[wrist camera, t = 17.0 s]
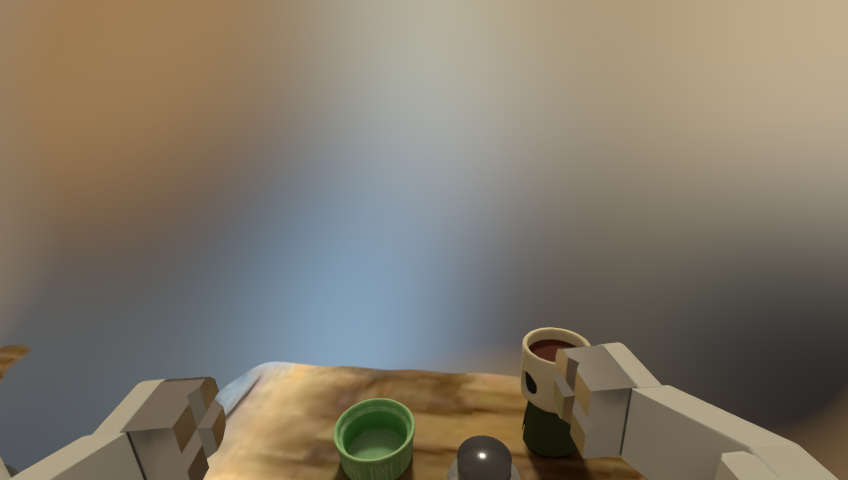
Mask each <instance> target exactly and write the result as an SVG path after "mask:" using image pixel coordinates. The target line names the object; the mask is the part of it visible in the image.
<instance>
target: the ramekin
mask: <svg viewBox="0 0 848 480" xmlns="http://www.w3.org/2000/svg"><path fill="white" fill-rule="evenodd" d="M414 432H415V421H414V418H413V415H412V413H411V412H410V410H409V409H408V408H407V407H405V406H404V405H403V404H401V403H399V402H397V401H395V400H391V399H385V398H375V399H369V400H365V401H362V402H360V403H357V404H355V405H354V406H352V407H350V408H349V409H348V410H346V411H345V412H344V413H343V414H342V415H341V416H340V418H339V419H338V421H337V423H336V425H335V428H334V433H333V438H334V443H335V446H336V449H337V451H338V452H339V456H340V460H341V464H342V468H343V470H344V472H345V474H346V475H347V476H348V477H349V478H350V479H351V480H395V479H397V478H398V477H399V476H401V475H402V474H403V473H404V472H405V470H406V469H407V467H408V465H409V463H410V461H411V457H412V451H413V437H414Z"/></svg>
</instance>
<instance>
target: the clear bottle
mask: <svg viewBox="0 0 848 480" xmlns="http://www.w3.org/2000/svg"><path fill="white" fill-rule="evenodd" d="M448 480H521V478H520V475H519V472H518V470H517V469H516V467H515V466H514V464H513V463H512V458H511V454H510V452H509V450H508V448H507V447H506V446H505V445H504V444H503V443H502V442H500V441H499V440H497V439H495V438H493V437H489V436H475V437H471V438H469V439H467V440H466V441H464V442H463V443H462V444H461V446H460V447H459V450H458V453H457V458H456V459H455V460H454V461H453V463H452V464H451V466H450V468H449V471H448Z"/></svg>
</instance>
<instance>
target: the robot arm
mask: <svg viewBox="0 0 848 480" xmlns="http://www.w3.org/2000/svg"><path fill="white" fill-rule="evenodd" d="M555 364H556V366H557V367H558V369H559V371H560V372H559V373H558V374H557V375H556V377H555V378H554V386H553V391H554V398H555V403H556V406H557V409H558V412H559V414H560V416H561V418H562V419H563V420H564V421H566V422H567V423H569V424H570V425H571V430H570V435H571V437H572V439H573V441H574V443H575V444H576V446H577V448H578V450H579V452H580V454H581V456H582V458H598V457H613V456H621V458H622V459H623V460H624V461H625V462H627V463H628V464H629V465H631V466H632V467H633V468H634V469H636V470H637V471H638V472H639V473H641V474H642V475H643V476H644V477H646V478H647V479H648V480H838V479H837V478H836V477H835V476H834V475H832V474H831V473H830V472H829V471H828V470H827V469H825V468H824V467H823V466H822V465H821V464H819V462H817V461H816V460H815V459H814V458H813V457H812V456H810V455H809V454H808V453H807V452H806V451H805V450H803V449H802V448H801V447H800V446H799V445H797V444H795V443H793V442H791V441H789V440H787V439H785V438H782V437H780V436H778V435H776V434H774V433H772V432H769V431H767V430H765V429H763V428H760V427H759V426H756V425H754V424H752V423H750V422H748V421H745V420H743V419H741V418H739V417H737V416H735V415H732V414H730V413H728V412H726V411H724V410H722V409H719V408H717V407H715V406H713V405H711V404H708V403H706V402H704V401H702V400H700V399H698V398H695V397H693V396H691V395H689V394H686V393H685V392H682V391H680V390H678V389H676V388H674V387H671V386H669V385H668V386H662V385H661V384H660V383H659V382H658V381H657V380H656V379H655V378H654V376H653V375H652V374H651V373H650V372H649V371H648V370H647V369H646V368H645V367H644V366H643V365H642V364H641V363H640V361H639V360H638V359H637V358H636V357H635V356H634V355H633V354H632V353H631V352H630V351H629V350H628V349H627V348H626V347H625V346H624V345H623V344H621V343H619V342H618V343H609V344H600V345H596V346H585V347H574V348H562V349H558V350H557V353H556V358H555ZM218 392H219V390H218V387H217V384H216V381H215V379H213V378H212V377H195V378H178V379H167V380H164V379H163V380H151V381H144V382H141V383H139V384H138V385H137V386H136V387H135V388H134V389H133V390H132V391H131V392H130V394H128V396H127V397H126V398H125V399H124V400H123V401H122V402H121V403H120V404H119V406H118V407H117V408H116V409H115V410H114V411H113V412H112V413H111V414H110V415H109V417H108V418H107V419H106V420H105V421H104V422H103V423H102V424H101V425H100V427H99V428H98V429H97V430H96V431H95V432H94V433H93V434H92V435H90V436H83V437H81V438H80V439H78V440H76V441H74V442H73V443H71V444H69V445H67V446H66V447H64V448H62V449H60V450H59V451H57V452H55V453H54V454H52V455H50V456H48V457H47V458H45V459H43V460H41V461H40V462H38V463H36V464H34V465H33V466H31V467H29V468H28V469H26V470H24V471H22V472H21V473H18V472H17V470H16V469H15V468H13V467H12V466H10V465H7V464H4V463H3V461H2V459H1V457H0V480H203V478H204V476H205V474H206V472H207V471H208V469H209V466H208V462H207V458H209V457H210V456H211V455H212V454H214V453H215V452H216V451H217V450H218V448H219V446H220V444H221V442H222V440H223V436H224V431H225V426H226V423H225V413H224V409H223V406H222V405H220V404H219V403H218V402H217V401H216V400H214V399H215V397H216V395H217V393H218Z"/></svg>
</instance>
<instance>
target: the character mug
mask: <svg viewBox="0 0 848 480" xmlns="http://www.w3.org/2000/svg"><path fill="white" fill-rule="evenodd" d="M585 346H591V345H590V344H589V342H588V341H587V340H586V339H585V338H583V337H581V336H580V335H578V334H577V333H574V332H571V331H568V330H565V329H560V328H553V327H550V328H540V329H537V330H534V331H531V332H530V333H528V334H527V335H526V336H525V337H524V339H523V346H522V364H521V391H522V394H523V395H524V396H525V398H526V399H527V400H528V403H527V407H526V411H525V415H524V420H523V426H524V424H525V427H524V433H523V440H524V441H525V442H526V444H527V445H528V446H529V448H530V449H532V450H533V451H535V452H537V453H538V454H540V455H543V456H551V457H559V456H567V455H569V454H571V453H572V452H574V451H576V448H577V446H576V444H575V443H574V441H573V439H572V437H571V435H570V430H571V425H570V424H569V423H567V422H566V421H564V420H563V419H562V418H561V416H560V414H559V412H558V409H557V406H556V403H555V398H554V391H553V386H554V378H555V377H556V375H557V374H558V373H559V372H560V371H559V369H558V367H557V366H556V364H555V358H556V353H557V350H558V349H562V348H574V347H585ZM523 426H522V429H523Z"/></svg>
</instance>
